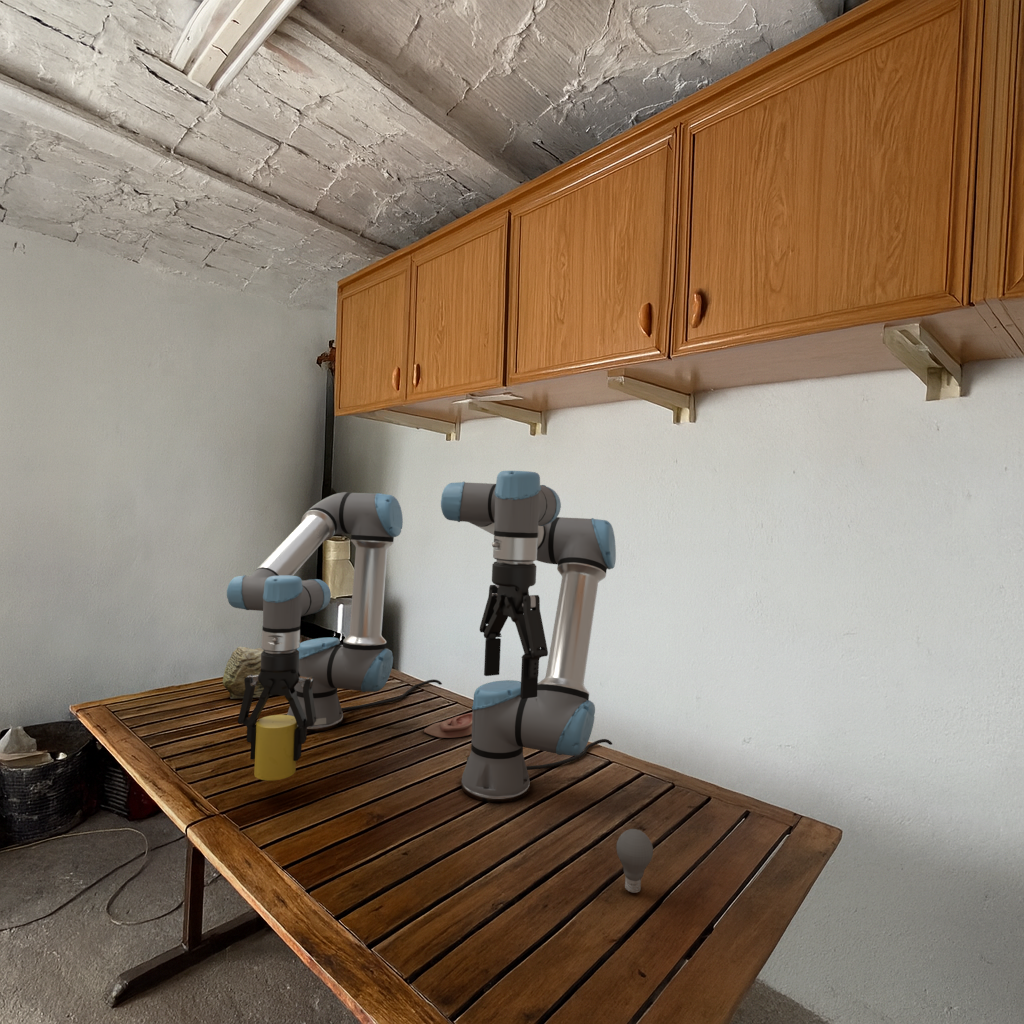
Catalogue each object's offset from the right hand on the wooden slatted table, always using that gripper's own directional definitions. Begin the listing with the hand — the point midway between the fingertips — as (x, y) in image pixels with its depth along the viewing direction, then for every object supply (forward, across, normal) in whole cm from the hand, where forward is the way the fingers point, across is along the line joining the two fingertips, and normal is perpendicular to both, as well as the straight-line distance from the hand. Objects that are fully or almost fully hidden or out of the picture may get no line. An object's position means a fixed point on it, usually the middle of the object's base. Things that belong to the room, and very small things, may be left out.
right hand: (509, 685), depth 108 cm
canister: (+28, -44, -31) cm, 61 cm away
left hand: (+24, -44, -31) cm, 59 cm away
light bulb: (+33, +13, +18) cm, 40 cm away
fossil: (+33, -116, -28) cm, 123 cm away
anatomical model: (+33, -65, +17) cm, 75 cm away
